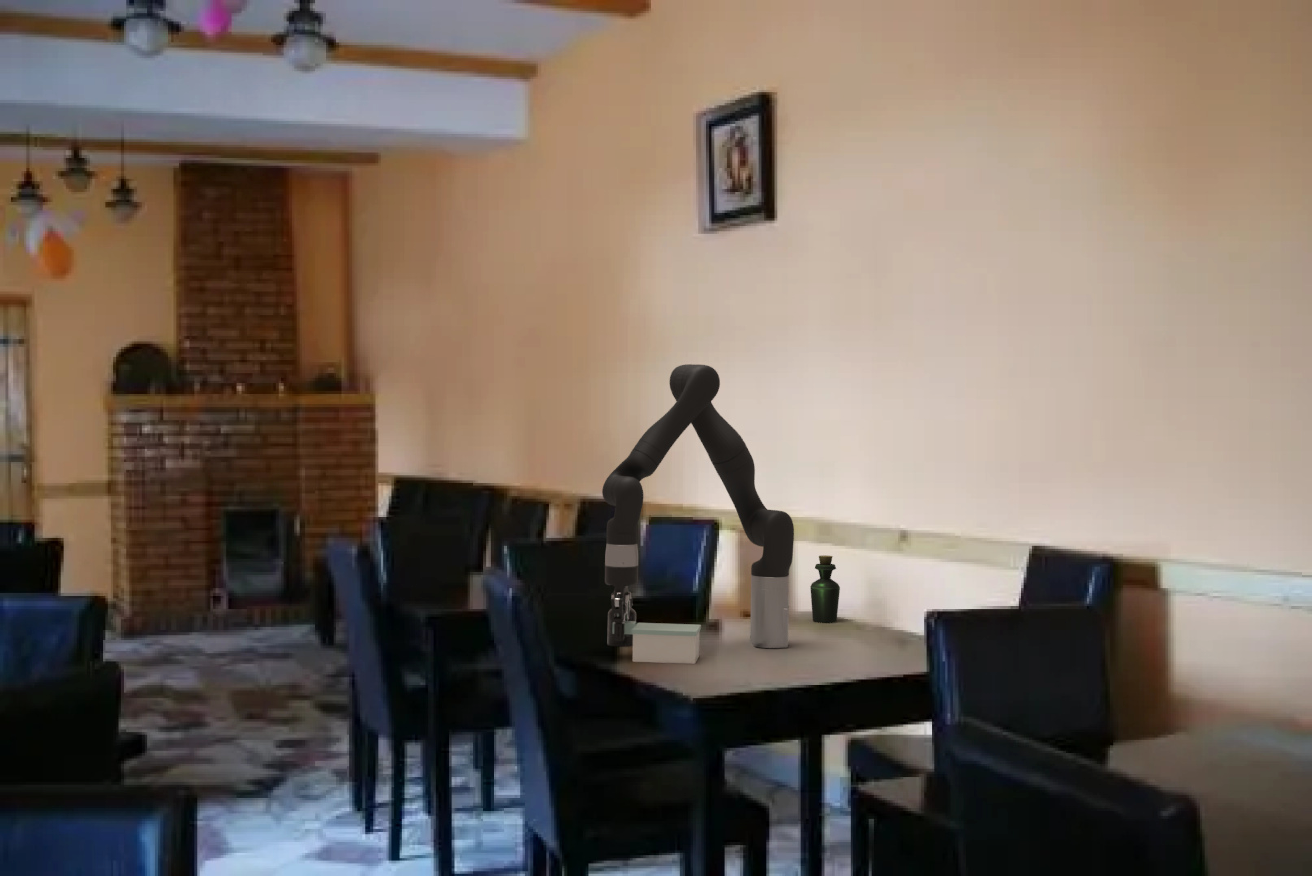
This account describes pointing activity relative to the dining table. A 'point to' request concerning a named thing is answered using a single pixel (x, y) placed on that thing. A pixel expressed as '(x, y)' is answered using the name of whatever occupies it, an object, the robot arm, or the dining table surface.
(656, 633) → the lid
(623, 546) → the robot arm
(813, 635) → the dining table surface
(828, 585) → the potion bottle
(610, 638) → the supplement bottle
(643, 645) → the tub
